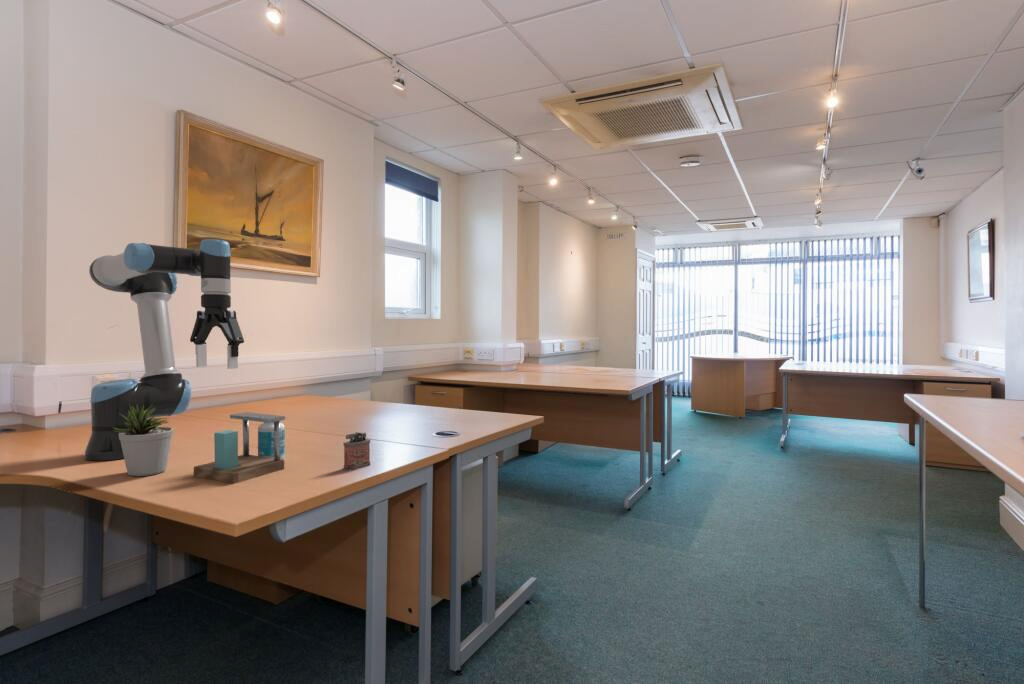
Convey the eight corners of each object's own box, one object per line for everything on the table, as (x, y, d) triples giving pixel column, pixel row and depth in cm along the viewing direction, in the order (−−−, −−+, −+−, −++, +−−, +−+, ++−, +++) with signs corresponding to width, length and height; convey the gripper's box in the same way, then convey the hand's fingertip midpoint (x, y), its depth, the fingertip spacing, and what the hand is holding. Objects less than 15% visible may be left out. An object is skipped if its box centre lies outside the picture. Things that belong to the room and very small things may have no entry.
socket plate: (193, 475, 145) (193, 466, 145) (245, 462, 160) (245, 454, 159) (233, 483, 138) (233, 474, 138) (284, 468, 153) (284, 460, 153)
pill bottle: (274, 464, 157) (274, 418, 157) (252, 463, 159) (251, 417, 159) (290, 458, 165) (289, 414, 164) (268, 457, 166) (268, 413, 166)
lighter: (366, 463, 159) (366, 429, 159) (372, 465, 157) (372, 431, 156) (341, 468, 154) (341, 433, 153) (347, 470, 151) (346, 435, 151)
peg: (214, 476, 144) (214, 432, 144) (228, 473, 148) (227, 430, 148) (225, 478, 143) (224, 434, 142) (238, 475, 146) (237, 431, 146)
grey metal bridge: (230, 466, 155) (229, 414, 155) (247, 462, 160) (246, 412, 160) (269, 473, 148) (268, 419, 148) (285, 468, 153) (285, 416, 153)
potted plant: (113, 472, 149) (111, 400, 148) (171, 464, 157) (170, 396, 157) (114, 482, 139) (112, 405, 138) (176, 473, 147) (175, 401, 147)
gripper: (175, 294, 156) (176, 366, 157) (233, 292, 145) (234, 370, 146) (200, 295, 163) (201, 365, 164) (257, 293, 152) (257, 368, 153)
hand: (216, 367), depth 155 cm, fingers open, 13 cm apart
